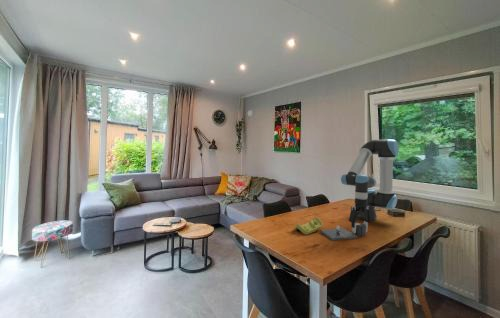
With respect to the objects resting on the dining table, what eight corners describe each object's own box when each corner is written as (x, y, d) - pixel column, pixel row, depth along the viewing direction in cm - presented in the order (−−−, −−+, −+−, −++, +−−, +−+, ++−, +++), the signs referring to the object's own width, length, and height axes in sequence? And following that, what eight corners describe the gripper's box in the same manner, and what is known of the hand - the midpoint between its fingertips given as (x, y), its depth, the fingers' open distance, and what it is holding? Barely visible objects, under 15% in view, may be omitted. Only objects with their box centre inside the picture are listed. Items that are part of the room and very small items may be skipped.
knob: (360, 232, 156) (360, 221, 156) (367, 235, 150) (367, 225, 149) (351, 233, 154) (352, 222, 154) (358, 236, 148) (359, 225, 148)
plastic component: (306, 232, 148) (296, 222, 155) (303, 240, 151) (293, 230, 158) (325, 224, 159) (315, 215, 166) (321, 232, 163) (311, 222, 169)
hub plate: (343, 230, 159) (343, 221, 159) (358, 238, 145) (358, 229, 144) (320, 232, 155) (320, 223, 154) (333, 241, 140) (333, 231, 140)
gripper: (370, 196, 157) (368, 228, 158) (343, 197, 152) (342, 231, 153) (378, 198, 150) (377, 232, 151) (351, 200, 144) (349, 235, 146)
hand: (359, 231), depth 152 cm, fingers open, 8 cm apart
